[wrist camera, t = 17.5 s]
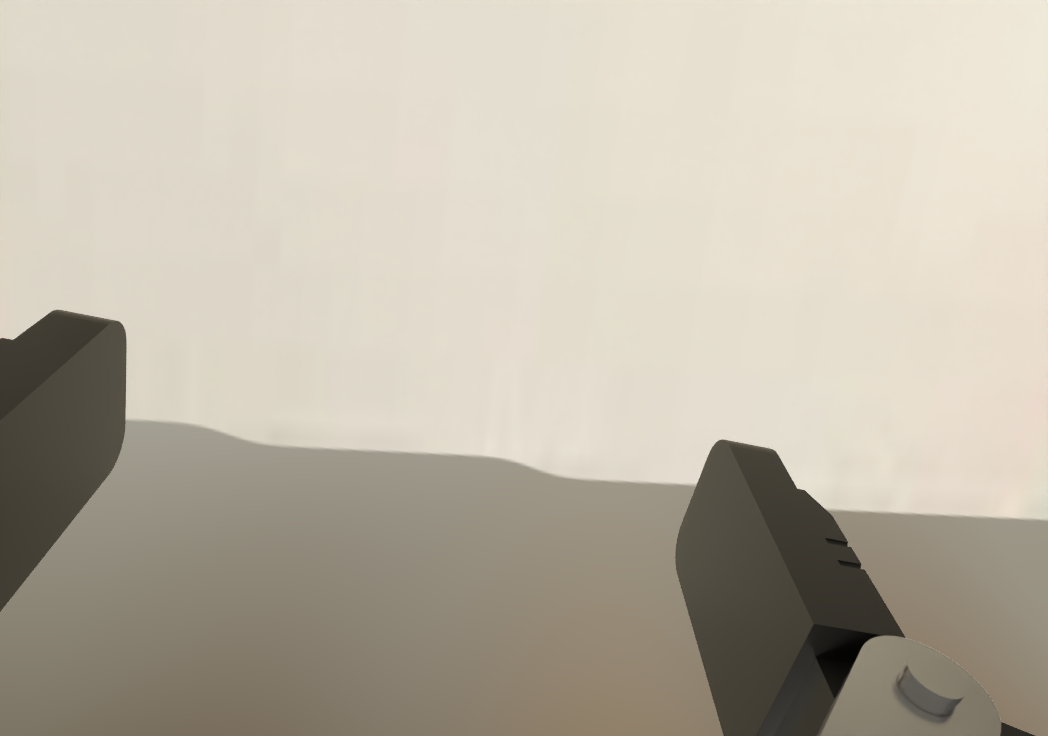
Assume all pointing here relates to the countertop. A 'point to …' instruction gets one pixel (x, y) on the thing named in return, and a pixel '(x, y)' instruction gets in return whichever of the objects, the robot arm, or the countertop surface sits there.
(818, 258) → the countertop surface
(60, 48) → the countertop surface
